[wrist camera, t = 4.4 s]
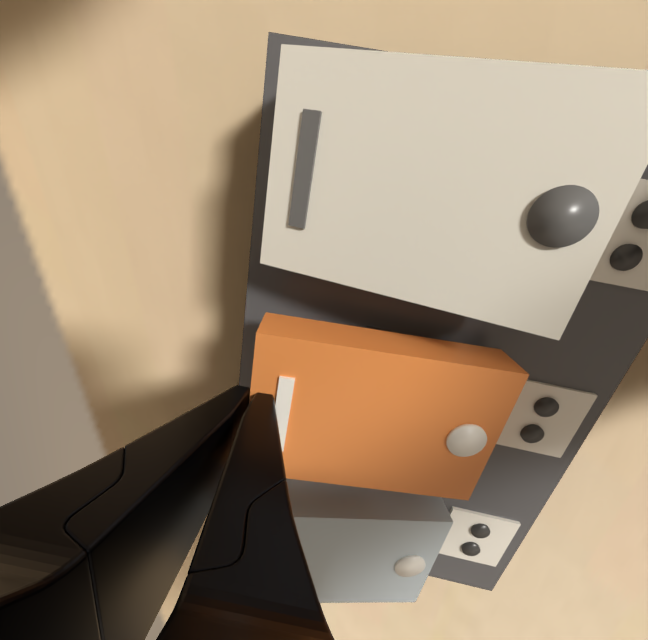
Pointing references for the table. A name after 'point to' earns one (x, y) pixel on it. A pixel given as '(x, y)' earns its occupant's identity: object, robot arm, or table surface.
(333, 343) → the orange box with knob
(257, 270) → the power strip
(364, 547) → the grey-blue rocker
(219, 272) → the table surface
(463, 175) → the ivory rocker
